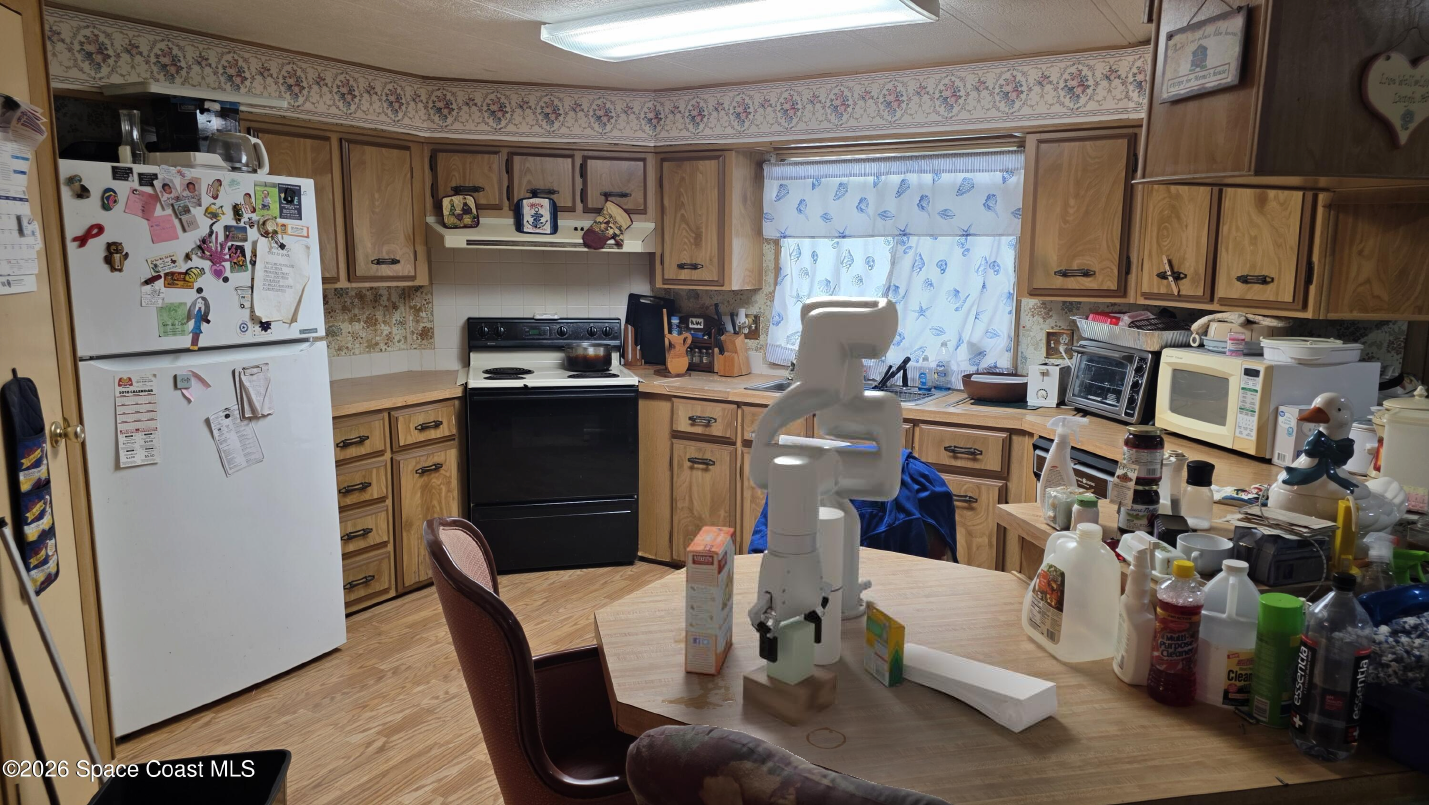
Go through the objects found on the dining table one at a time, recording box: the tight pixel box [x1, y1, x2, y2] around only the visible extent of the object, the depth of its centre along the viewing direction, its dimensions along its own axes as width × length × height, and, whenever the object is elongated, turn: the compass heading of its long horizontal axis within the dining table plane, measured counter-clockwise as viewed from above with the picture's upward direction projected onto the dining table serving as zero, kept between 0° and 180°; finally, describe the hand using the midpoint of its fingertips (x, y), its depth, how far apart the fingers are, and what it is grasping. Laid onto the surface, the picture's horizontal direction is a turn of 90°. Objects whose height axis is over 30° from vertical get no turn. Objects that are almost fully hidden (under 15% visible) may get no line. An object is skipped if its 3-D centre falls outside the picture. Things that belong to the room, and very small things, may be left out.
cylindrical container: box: [798, 507, 844, 666], centre depth 150 cm, size 7×7×25 cm
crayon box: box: [863, 601, 906, 688], centre depth 144 cm, size 7×3×12 cm, turn 21°
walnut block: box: [742, 663, 838, 729], centre depth 135 cm, size 10×10×5 cm
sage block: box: [766, 617, 815, 685], centre depth 134 cm, size 5×5×8 cm
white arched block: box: [903, 642, 1059, 733], centre depth 140 cm, size 10×7×28 cm
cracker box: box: [684, 525, 736, 676], centre depth 150 cm, size 14×6×21 cm, turn 168°
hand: (790, 650), depth 134 cm, fingers open, 9 cm apart
